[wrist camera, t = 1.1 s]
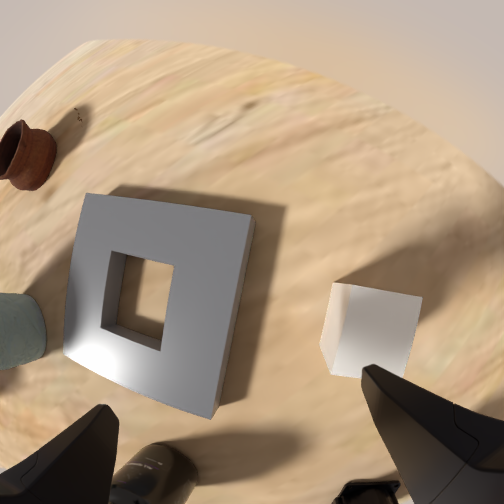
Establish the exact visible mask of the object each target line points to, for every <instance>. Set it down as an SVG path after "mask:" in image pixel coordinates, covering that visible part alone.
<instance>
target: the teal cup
mask: <svg viewBox="0 0 504 504" xmlns="http://www.w3.org/2000/svg"><path fill="white" fill-rule="evenodd" d="M45 348H46V328H45V323H44V319H43V316H42V313H41V310H40V308H39V306H38V304H37V303H36V301H35V300H34V299H33V298H32V297H31V296H29V295H26V294H17V293H0V370H7V369H10V368H11V367H12V368H13V367H16V366H19V365H23V364H26V363H29V362H32V361H35V360H37V359H39V358H40V357H41V356H42V355H43V353H44V351H45Z"/></svg>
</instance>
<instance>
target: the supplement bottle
mask: <svg viewBox="0 0 504 504" xmlns="http://www.w3.org/2000/svg"><path fill="white" fill-rule="evenodd" d="M197 481H198V474H197V471H196V469H195V467H194V465H193V464H192V462H191V461H190V460H189V459H188V458H187V457H185V456H184V455H183V454H181V453H180V452H178V451H177V450H175V449H173V448H170V447H167V446H164V445H157V444H154V445H148V446H145V447H144V448H142V449H141V450H140V451H139V452H138V453H137V454H136V455H135V456H134V457H133V458H131V459H130V460H129V461H128V462H127V463H126V464H125V465H124V466H123V467H122V468H121V469H120V470H119V471H118V472H116V473H115V474H114V475H113V478H112V484H111V491H110V497H109V504H185V503H186V501H187V500H188V498H189V496H190V494H191V493H192V491H193V489H194V487H195V486H196V484H197Z"/></svg>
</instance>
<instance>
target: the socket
mask: <svg viewBox="0 0 504 504" xmlns="http://www.w3.org/2000/svg"><path fill="white" fill-rule="evenodd" d="M255 224H256V222H255V220H254V219H253V217H252V216H251V215H247V214H241V213H235V212H229V211H222V210H216V209H209V208H202V207H196V206H189V205H182V204H174V203H167V202H159V201H152V200H144V199H136V198H128V197H119V196H110V195H101V194H91V193H86V195H85V199H84V203H83V206H82V210H81V214H80V219H79V223H78V227H77V232H76V237H75V242H74V247H73V253H72V258H71V265H70V271H69V278H68V286H67V295H66V306H65V319H64V342H63V354H64V355H66V356H67V357H69V358H71V359H72V360H74V361H76V362H78V363H79V364H81V365H83V366H85V367H86V368H88V369H90V370H92V371H94V372H96V373H97V374H99V375H101V376H103V377H105V378H107V379H109V380H111V381H113V382H115V383H117V384H119V385H121V386H123V387H126V388H128V389H130V390H132V391H134V392H137V393H139V394H141V395H144V396H146V397H148V398H151V399H153V400H156V401H158V402H161V403H163V404H166V405H169V406H171V407H174V408H177V409H179V410H182V411H185V412H188V413H191V414H194V415H197V416H200V417H203V418H207V419H210V420H211V419H212V417H213V416H214V414H215V412H216V411H217V409H218V408H219V404H220V399H221V394H222V389H223V384H224V379H225V374H226V369H227V364H228V359H229V354H230V349H231V344H232V339H233V334H234V329H235V324H236V319H237V314H238V309H239V304H240V299H241V294H242V289H243V284H244V279H245V274H246V269H247V264H248V259H249V254H250V249H251V244H252V239H253V234H254V229H255ZM127 254H128V255H132V256H136V257H140V258H144V259H148V260H152V261H157V262H161V263H165V264H169V265H174V271H173V276H172V282H171V287H170V293H169V299H168V304H167V310H166V317H165V323H164V330H163V337H162V341H161V340H158V339H155V338H152V337H149V336H146V335H143V334H141V333H138V332H135V331H133V330H130V329H127V328H125V327H122V326H120V325H117V324H116V323H117V314H118V306H119V299H120V292H121V285H122V279H123V273H124V268H125V262H126V257H127Z"/></svg>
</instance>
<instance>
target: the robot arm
mask: <svg viewBox="0 0 504 504" xmlns="http://www.w3.org/2000/svg"><path fill="white" fill-rule="evenodd" d="M361 387H362V391H363V393H364V396H365V399H366V401H367V404H368V407H369V410H370V412H371V415H372V418H373V421H374V423H375V426H376V428H377V430H378V432H379V434H380V436H381V438H382V440H383V442H384V443H385V445H386V447H387V449H388V451H389V453H390V455H391V457H392V459H393V461H394V463H395V465H396V467H397V469H398V471H399V473H400V475H401V477H402V479H403V481H404V483H405V485H406V487H407V489H408V491H409V493H410V496H411V498H412V500H413V502H414V504H504V421H502V420H499V419H495V418H492V417H488V416H485V415H482V414H479V413H476V412H474V411H471V410H469V409H466V408H464V407H462V406H460V405H457V404H453V402H451V401H449V400H446V399H444V398H442V397H440V396H438V395H436V394H434V393H432V392H430V391H428V390H426V389H424V388H421V387H419V386H417V385H415V384H413V383H411V382H409V381H407V380H405V379H403V378H401V377H399V376H397V375H395V374H393V373H392V372H390V371H388V370H386V369H384V368H382V367H380V366H378V365H376V364H371V365H368V366H365V367H363V368H362V379H361ZM118 433H119V420H118V418H117V416H116V415H115V414H114V412H113V411H112V409H111V408H110V407H109V406H108V405H106V404H98V405H96V406H95V407H94V408H93V409H91V410H90V411H89V412H87V413H86V414H85V415H84V416H82V417H81V418H80V419H78V420H77V421H76V422H74V423H73V424H72V425H71V426H69V427H68V428H67V429H65V430H64V431H63V432H61V433H60V434H59V435H57V436H56V437H55V438H53V439H52V440H51V441H49V442H48V443H47V444H45V445H44V446H43V447H41V448H40V449H39V450H37V451H36V452H35V453H33V454H32V455H30V456H29V457H28V458H26V459H25V460H23V461H21V462H20V463H18V464H17V465H15V466H13V467H11V468H10V469H8V470H6V471H4V472H3V473H1V474H0V504H109V497H110V491H111V484H112V478H113V472H114V467H115V461H116V454H117V443H118ZM400 485H401V484H400V482H399V481H390V482H371V483H347V484H345V485H344V487H343V489H342V490H341V492H340V494H339V495H338V497H336V498H335V499H334V501H333V502H332V504H399V503H398V501H397V499H396V496H395V493H396V491H397V490H398V488H399V487H400Z"/></svg>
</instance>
